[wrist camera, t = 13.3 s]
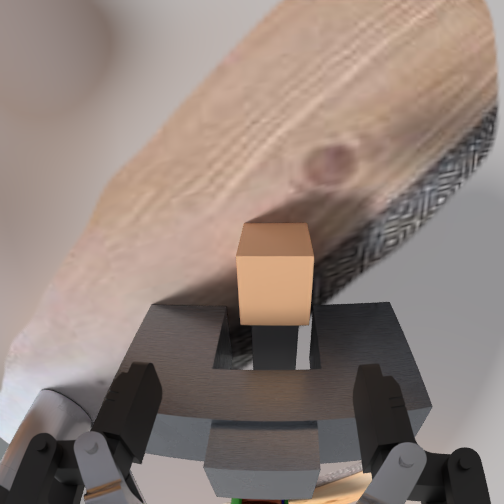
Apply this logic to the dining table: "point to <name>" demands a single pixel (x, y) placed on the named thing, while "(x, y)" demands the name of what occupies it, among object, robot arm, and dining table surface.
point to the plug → (275, 289)
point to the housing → (268, 396)
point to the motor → (257, 501)
